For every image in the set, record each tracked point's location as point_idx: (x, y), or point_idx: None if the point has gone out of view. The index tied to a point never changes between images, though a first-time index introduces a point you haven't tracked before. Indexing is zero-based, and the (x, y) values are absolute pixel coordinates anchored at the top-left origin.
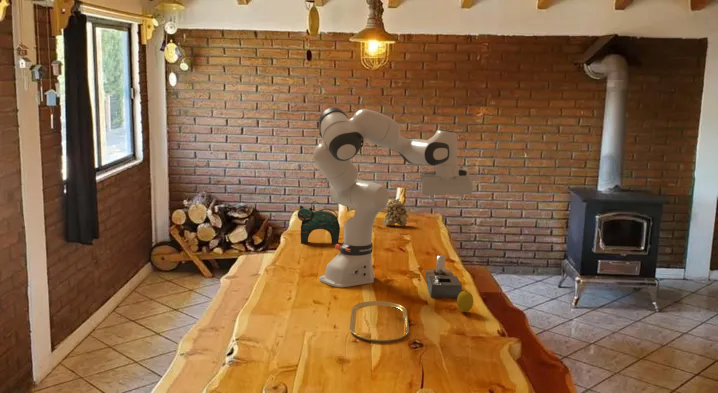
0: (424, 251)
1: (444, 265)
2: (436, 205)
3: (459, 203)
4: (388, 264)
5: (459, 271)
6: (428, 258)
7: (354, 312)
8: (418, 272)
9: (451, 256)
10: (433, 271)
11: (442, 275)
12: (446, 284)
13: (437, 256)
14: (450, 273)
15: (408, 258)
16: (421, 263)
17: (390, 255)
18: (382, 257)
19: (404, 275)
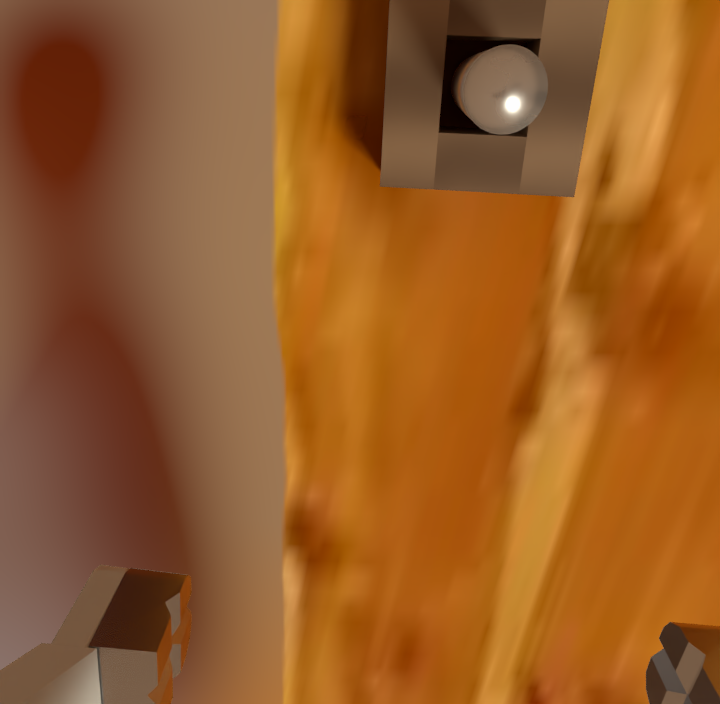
0: (419, 680)
1: (464, 68)
2: (686, 627)
3: (119, 597)
4: (708, 483)
5: (289, 348)
6: (426, 577)
7: None
8: (562, 328)
9: (288, 603)
10: (528, 139)
11: (483, 24)
12: None
13: (546, 75)
14: (403, 86)
15: (544, 580)
16: (491, 496)
17: (634, 631)
18: (696, 601)
19: (681, 264)
